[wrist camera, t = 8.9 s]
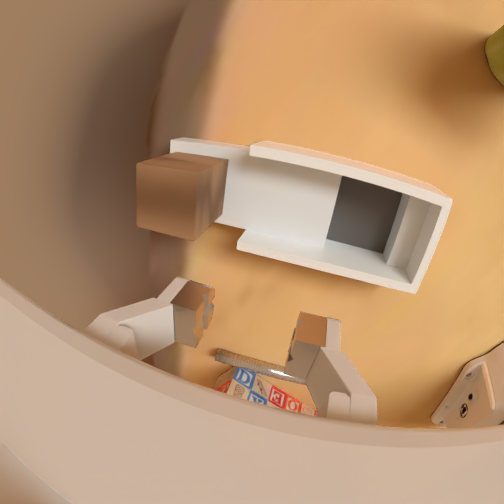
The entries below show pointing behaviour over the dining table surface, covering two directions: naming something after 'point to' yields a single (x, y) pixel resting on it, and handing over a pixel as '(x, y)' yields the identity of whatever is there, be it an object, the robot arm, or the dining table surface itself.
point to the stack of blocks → (258, 391)
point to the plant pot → (496, 54)
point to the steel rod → (255, 366)
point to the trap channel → (328, 211)
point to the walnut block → (180, 193)
